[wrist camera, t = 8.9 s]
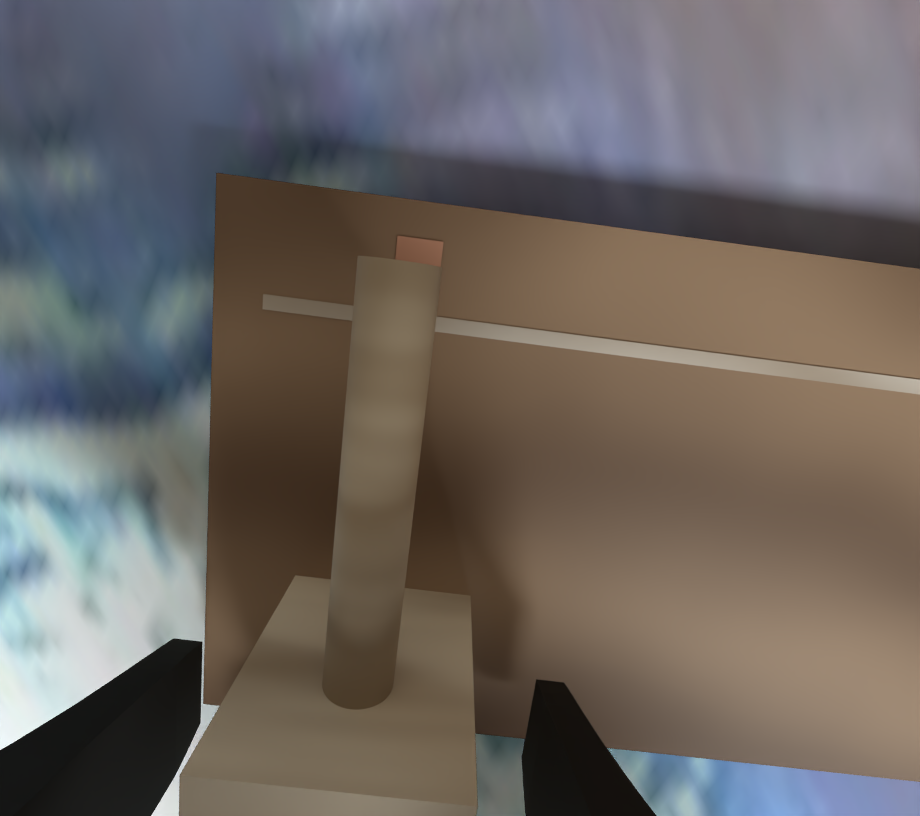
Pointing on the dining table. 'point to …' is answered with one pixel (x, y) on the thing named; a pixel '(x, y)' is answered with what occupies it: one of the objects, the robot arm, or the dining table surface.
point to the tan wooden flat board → (596, 468)
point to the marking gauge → (357, 619)
